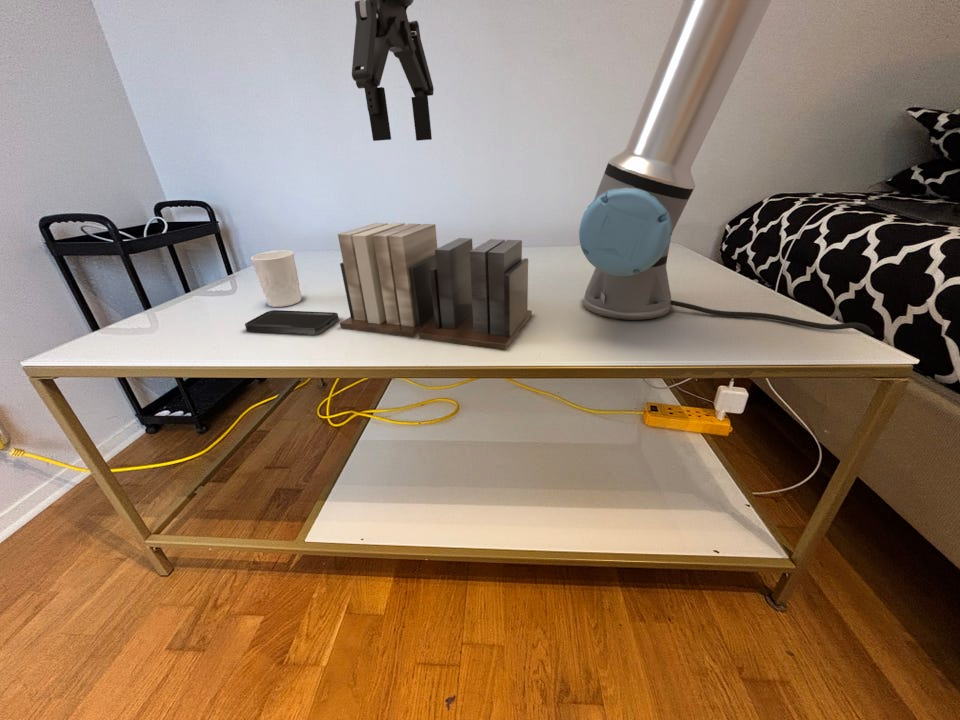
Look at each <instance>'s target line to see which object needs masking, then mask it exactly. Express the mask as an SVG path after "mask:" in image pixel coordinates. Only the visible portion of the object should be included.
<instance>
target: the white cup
mask: <svg viewBox="0 0 960 720" xmlns="http://www.w3.org/2000/svg"><path fill="white" fill-rule="evenodd" d="M250 259H251V262H252V266H253V268H254V272H255V274H256V277H257V279H258V283H259V286H260V288H261V290H262V293H263V294H264V296H265V300H266V302H267V305H268V306H269V307H273V308H283V307H288V306H292V305H295V304H298V303H300V302H301V301H302V299H303V298H302V292H301V289H300V279H299V274H298V269H297V265H296V260H295V254H294V251H291V250H271V251H265V252H261V253H257V254H254V255H252V256H251V257H250Z"/></svg>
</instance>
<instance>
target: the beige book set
mask: <svg viewBox="0 0 960 720" xmlns="http://www.w3.org/2000/svg"><path fill="white" fill-rule="evenodd" d="M387 224H389V223H388V222H375V223H371V224H368V225H364V226H360V227H357V228H354V229H350V230H347V231H344V232H340V233H337V238H338V242H339V247H340V252H341V258H342V262H340V264H339V267H340V270H341V276H342V280H343V286H344V290H345V295H346V300H347V305H348V311H349V315H350V316H349V317H347V318H346V319H344V320H342V321H340V322H339V325H340V329H344V330H345V329H346V330H352V331H353V330H355V331H360V332H369V333H375V334H376V333H377V334H383V335H389V336H390V335H391V336H397V337H398V336H399V337H406V338H411V339H413V338H414V339H415V338H416V337H417V336H419V333H420V332H421V331H422V330H423V329H425V328H426V327H427V326H429V325H430V324H431V323H432V322H434V321H435V318H434V308H433V298H432V288H431V278H430V269H432V268H433V267H435V266H436V258H435V249H437V248H438V238H437V229H436V227H437V226H436V223H407V224H406V223H405V225H403V226H400V227H397V228H394V229H391V230H388V231H385V232H382V233H379V234H376V235H373V238H374V245H375V251H376V257H377V264H378V270H379V276H380V283H381V289H382V295H383V302H384V308H385V314H386V320H385V321H384V322H382V323H381V324H376V323H368V319H367V313H366V308H365V302H364V297H363V291H362V286H361V280H360V275H359V269H358V264H357V258H356V253H355V247H354V241H353V236H352V235H355V234H358V233H362V232H365V231H368V230H371V229H375V228H378V227H381V226H384V225H387Z"/></svg>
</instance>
